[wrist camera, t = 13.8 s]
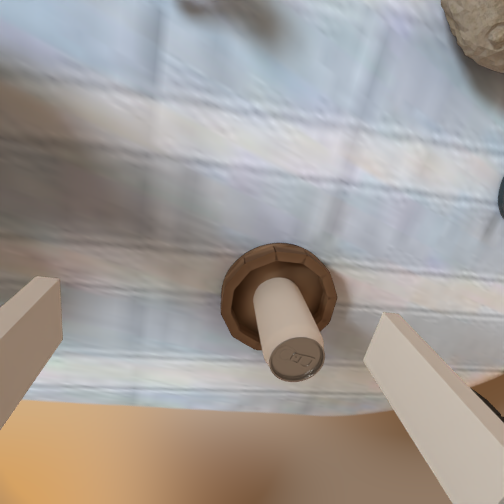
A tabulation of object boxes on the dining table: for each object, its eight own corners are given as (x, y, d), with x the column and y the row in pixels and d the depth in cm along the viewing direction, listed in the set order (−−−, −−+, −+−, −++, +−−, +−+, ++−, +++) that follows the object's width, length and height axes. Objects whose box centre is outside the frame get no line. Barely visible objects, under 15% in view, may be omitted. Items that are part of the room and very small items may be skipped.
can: (267, 268, 39) (286, 325, 28) (308, 286, 41) (341, 347, 30) (244, 307, 41) (253, 374, 30) (284, 323, 43) (307, 392, 32)
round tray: (215, 333, 43) (214, 347, 40) (229, 236, 38) (230, 245, 35) (314, 340, 46) (320, 354, 43) (341, 250, 40) (350, 259, 37)
